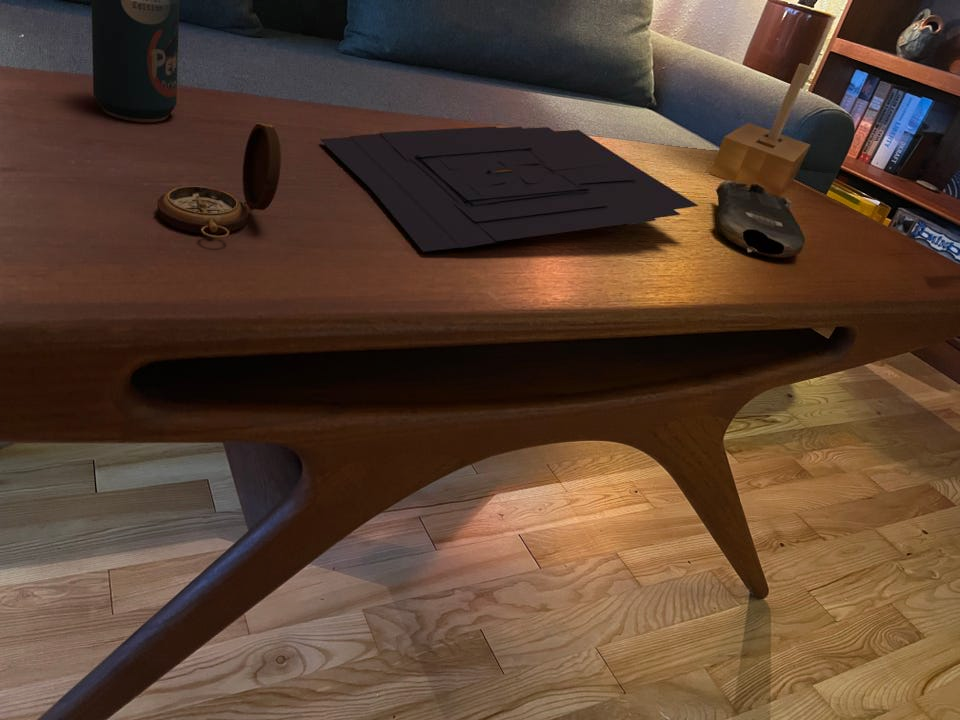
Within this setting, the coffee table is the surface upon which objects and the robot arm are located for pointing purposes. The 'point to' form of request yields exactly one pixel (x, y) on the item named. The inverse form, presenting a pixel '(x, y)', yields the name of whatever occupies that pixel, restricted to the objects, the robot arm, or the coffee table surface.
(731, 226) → the electronic device
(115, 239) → the coffee table surface
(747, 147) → the pen holder
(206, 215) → the compass
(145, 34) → the soda can
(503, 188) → the papers
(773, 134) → the stylus
